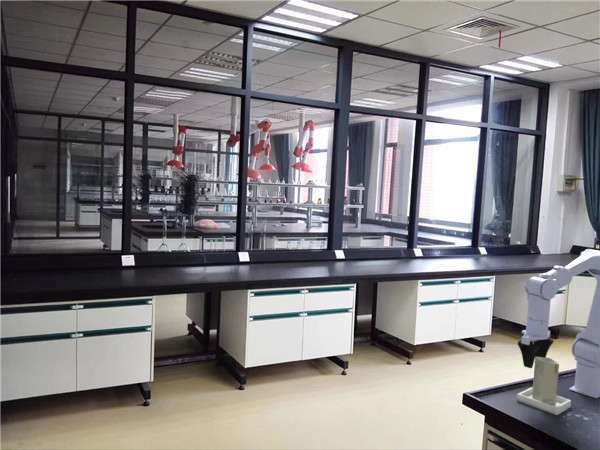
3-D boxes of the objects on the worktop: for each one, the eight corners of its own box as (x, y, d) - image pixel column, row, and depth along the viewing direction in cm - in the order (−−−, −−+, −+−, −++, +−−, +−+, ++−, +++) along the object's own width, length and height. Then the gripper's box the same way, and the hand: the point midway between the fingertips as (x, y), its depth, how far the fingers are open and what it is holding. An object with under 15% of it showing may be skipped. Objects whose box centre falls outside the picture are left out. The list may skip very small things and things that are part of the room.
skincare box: (556, 407, 138) (560, 364, 138) (540, 406, 139) (544, 363, 138) (546, 397, 145) (549, 356, 144) (531, 396, 145) (534, 355, 144)
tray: (531, 393, 149) (531, 387, 149) (570, 407, 140) (571, 400, 140) (516, 400, 143) (517, 394, 143) (557, 415, 134) (557, 408, 134)
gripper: (534, 312, 151) (531, 356, 151) (512, 318, 141) (508, 365, 142) (559, 318, 145) (554, 363, 146) (537, 324, 136) (533, 372, 137)
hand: (533, 364), depth 144 cm, fingers open, 7 cm apart
